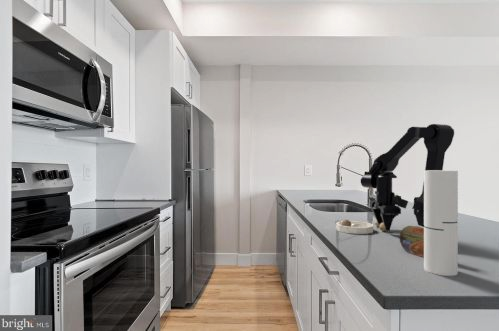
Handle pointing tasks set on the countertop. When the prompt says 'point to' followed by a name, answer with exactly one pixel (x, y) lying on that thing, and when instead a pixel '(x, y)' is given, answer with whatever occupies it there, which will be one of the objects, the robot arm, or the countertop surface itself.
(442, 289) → the countertop surface
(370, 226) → the groove tray
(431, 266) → the cylindrical container
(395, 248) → the countertop surface
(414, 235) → the tin
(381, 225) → the oak bead
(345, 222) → the walnut bead
